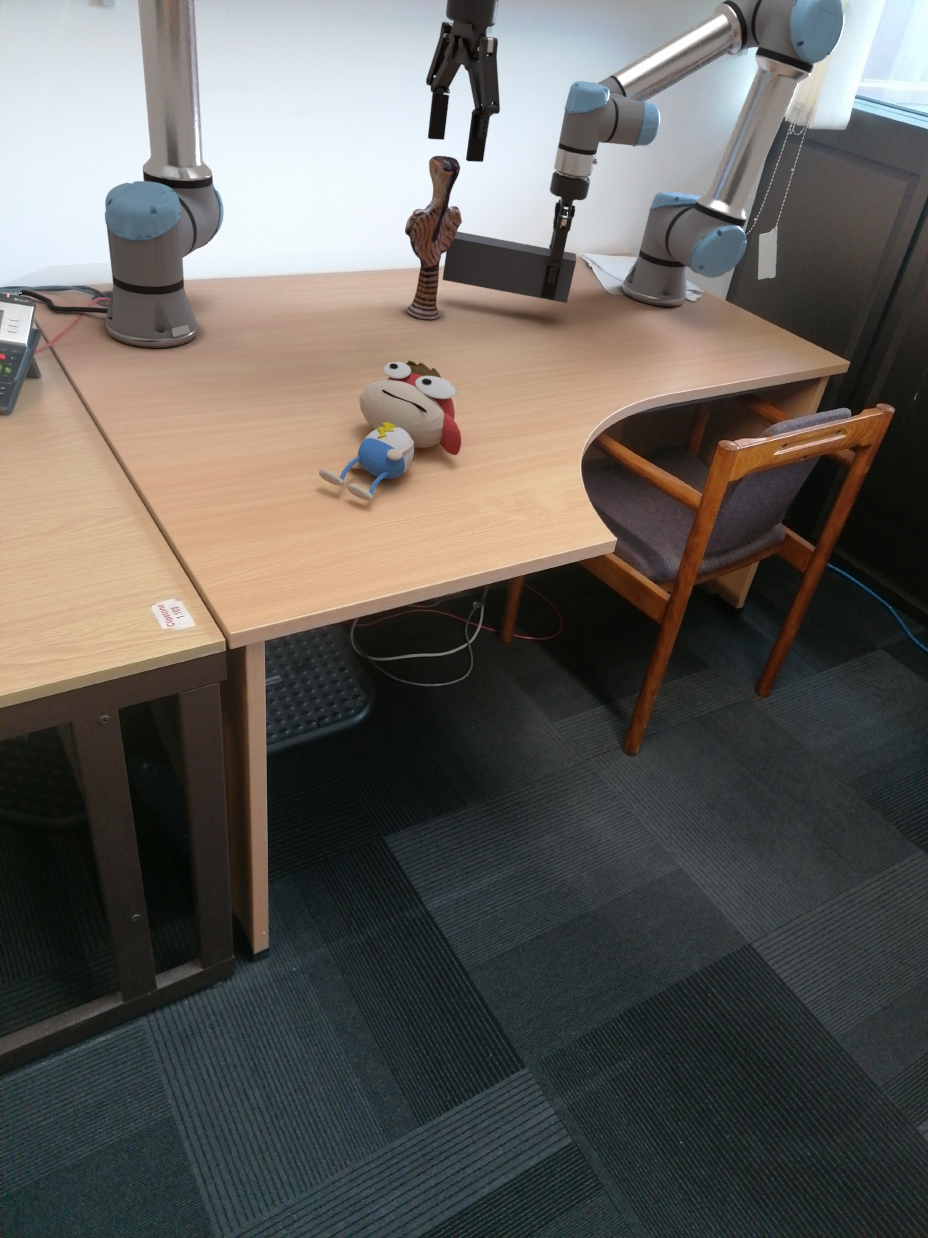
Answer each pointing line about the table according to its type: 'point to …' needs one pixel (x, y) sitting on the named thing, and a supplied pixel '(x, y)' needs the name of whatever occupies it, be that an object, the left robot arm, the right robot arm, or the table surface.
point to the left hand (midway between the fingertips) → (454, 149)
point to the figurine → (433, 234)
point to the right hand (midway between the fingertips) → (547, 292)
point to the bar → (505, 266)
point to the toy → (402, 423)
